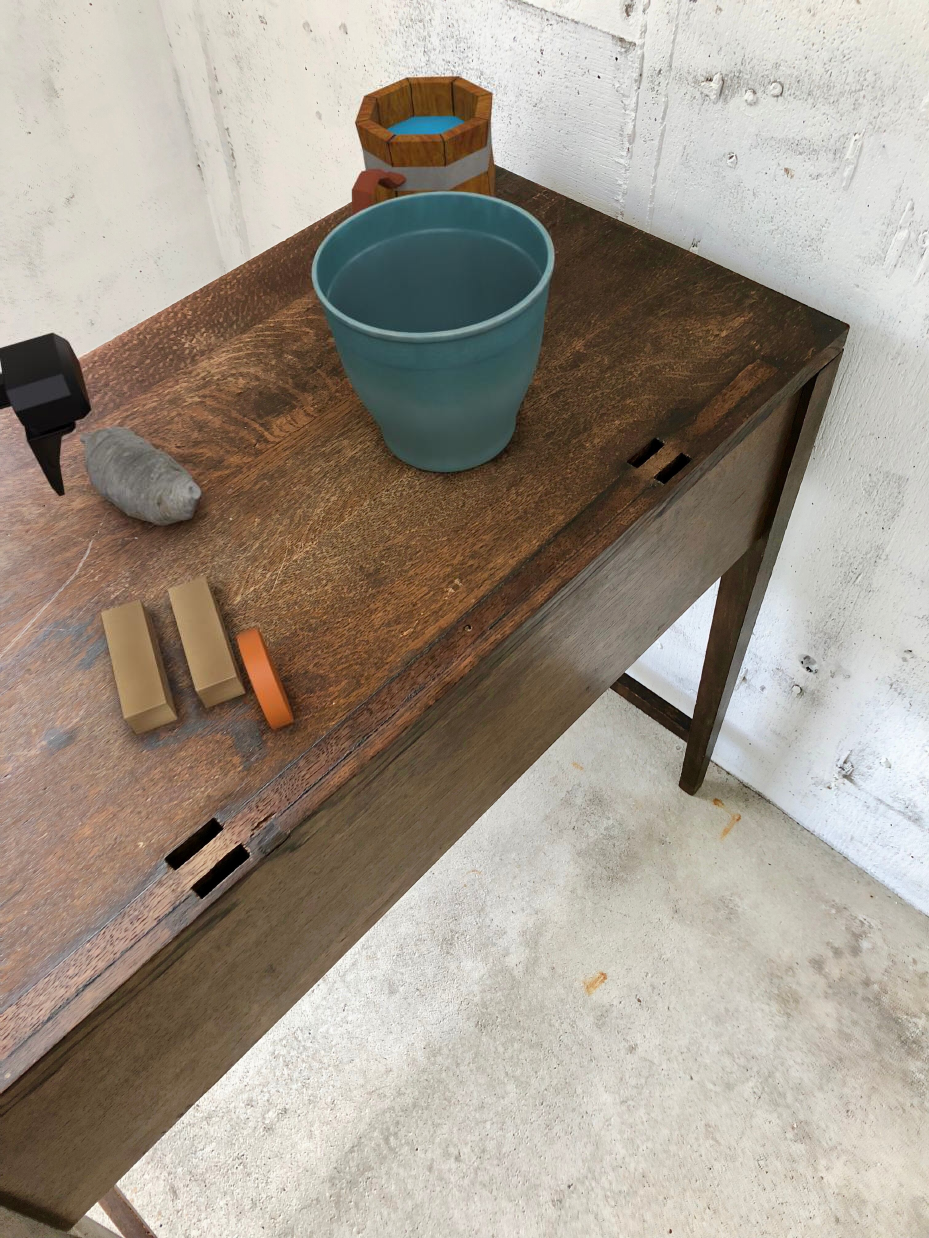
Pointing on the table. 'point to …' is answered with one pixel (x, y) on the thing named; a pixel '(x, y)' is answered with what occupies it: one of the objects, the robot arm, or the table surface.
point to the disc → (265, 678)
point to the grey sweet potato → (139, 477)
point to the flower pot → (438, 319)
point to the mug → (424, 140)
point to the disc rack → (142, 660)
